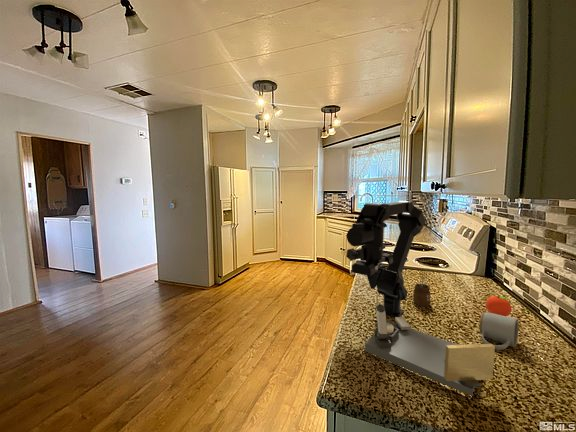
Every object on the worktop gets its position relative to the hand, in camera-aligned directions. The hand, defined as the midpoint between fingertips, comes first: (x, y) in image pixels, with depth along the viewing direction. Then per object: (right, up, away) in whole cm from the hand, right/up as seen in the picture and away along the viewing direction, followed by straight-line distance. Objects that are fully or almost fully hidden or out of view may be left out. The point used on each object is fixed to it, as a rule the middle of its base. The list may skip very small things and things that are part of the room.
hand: (372, 288), depth 82 cm
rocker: (+7, -9, -7) cm, 13 cm away
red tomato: (+46, -11, +5) cm, 48 cm away
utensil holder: (+24, -10, +15) cm, 31 cm away
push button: (+1, -9, -10) cm, 14 cm away
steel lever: (-2, -9, -15) cm, 17 cm away
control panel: (+7, -14, -16) cm, 22 cm away
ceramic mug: (+33, -13, -10) cm, 37 cm away
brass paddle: (+11, -12, -28) cm, 33 cm away
